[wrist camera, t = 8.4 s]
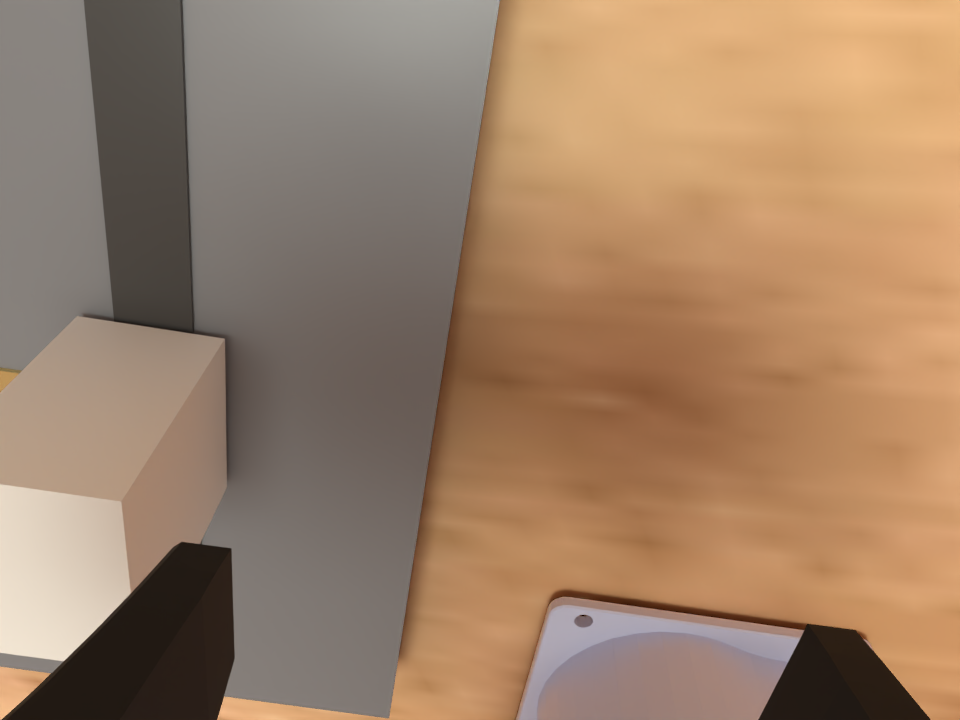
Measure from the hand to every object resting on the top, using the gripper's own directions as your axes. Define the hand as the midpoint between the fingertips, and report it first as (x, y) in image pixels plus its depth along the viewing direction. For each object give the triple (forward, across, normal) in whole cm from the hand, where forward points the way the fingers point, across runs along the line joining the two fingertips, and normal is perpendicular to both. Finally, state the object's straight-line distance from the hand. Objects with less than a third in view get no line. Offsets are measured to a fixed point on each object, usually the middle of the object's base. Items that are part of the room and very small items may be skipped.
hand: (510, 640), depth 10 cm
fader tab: (+7, +7, +3) cm, 11 cm away
